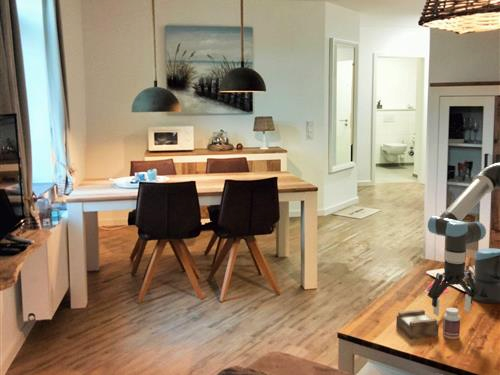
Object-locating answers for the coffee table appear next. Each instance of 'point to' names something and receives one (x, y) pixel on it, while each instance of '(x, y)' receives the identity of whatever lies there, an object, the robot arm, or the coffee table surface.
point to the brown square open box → (417, 324)
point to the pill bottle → (451, 323)
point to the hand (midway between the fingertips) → (451, 312)
